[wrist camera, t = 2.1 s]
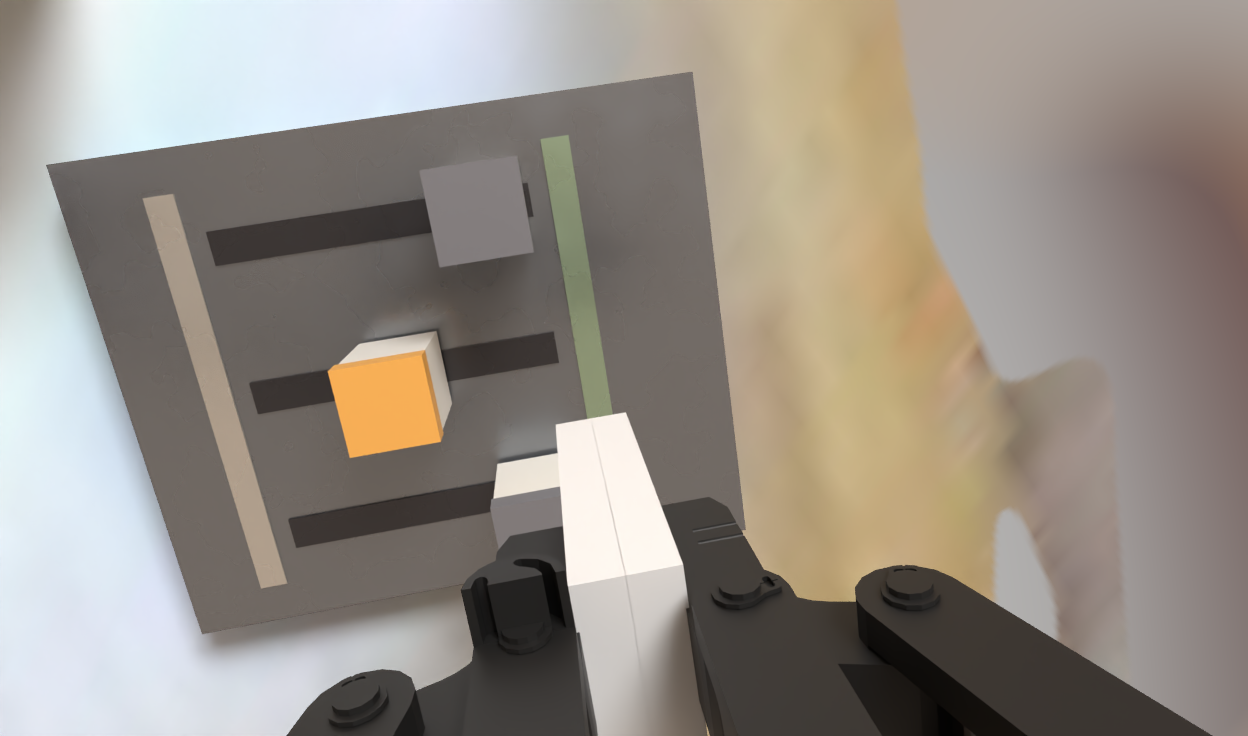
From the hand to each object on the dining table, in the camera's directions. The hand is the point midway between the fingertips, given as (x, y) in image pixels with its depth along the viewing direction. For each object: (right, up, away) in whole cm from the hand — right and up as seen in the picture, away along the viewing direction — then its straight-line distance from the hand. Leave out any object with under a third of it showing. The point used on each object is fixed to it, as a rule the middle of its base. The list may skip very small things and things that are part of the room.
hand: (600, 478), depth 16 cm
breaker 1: (-4, +8, +11) cm, 14 cm away
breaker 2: (-3, -2, +14) cm, 14 cm away
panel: (-7, +3, +14) cm, 16 cm away
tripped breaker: (-8, +2, +12) cm, 14 cm away
